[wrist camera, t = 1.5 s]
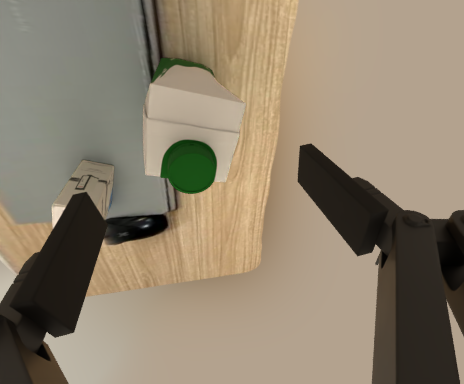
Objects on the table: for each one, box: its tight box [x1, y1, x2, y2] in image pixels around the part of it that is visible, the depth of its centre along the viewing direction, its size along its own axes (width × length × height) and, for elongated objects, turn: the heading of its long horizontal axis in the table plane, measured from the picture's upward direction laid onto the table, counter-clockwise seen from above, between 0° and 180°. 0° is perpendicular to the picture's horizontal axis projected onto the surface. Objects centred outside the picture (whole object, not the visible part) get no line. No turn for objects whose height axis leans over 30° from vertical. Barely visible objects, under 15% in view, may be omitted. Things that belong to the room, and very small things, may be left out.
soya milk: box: [143, 58, 246, 194], centre depth 26 cm, size 9×9×20 cm
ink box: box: [52, 160, 114, 228], centre depth 35 cm, size 9×5×12 cm, turn 160°
